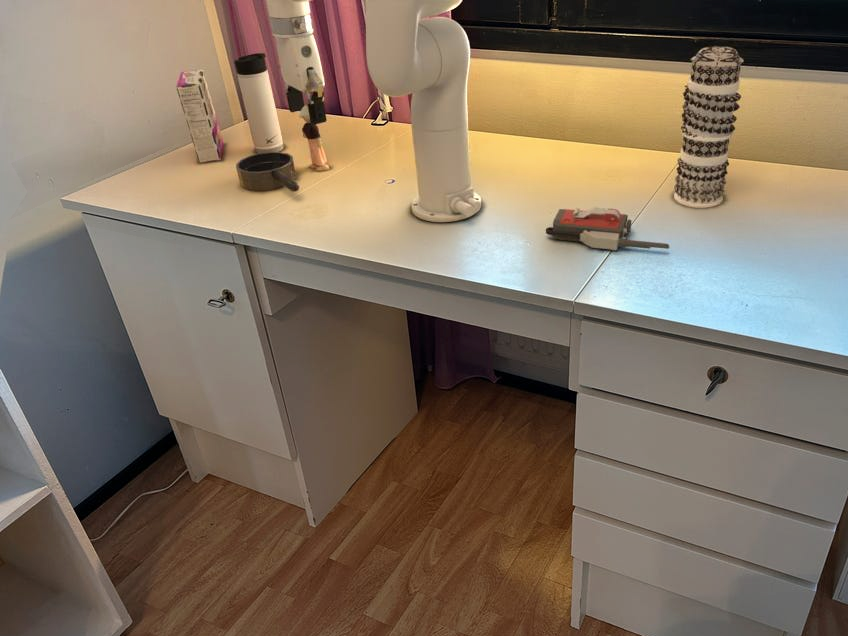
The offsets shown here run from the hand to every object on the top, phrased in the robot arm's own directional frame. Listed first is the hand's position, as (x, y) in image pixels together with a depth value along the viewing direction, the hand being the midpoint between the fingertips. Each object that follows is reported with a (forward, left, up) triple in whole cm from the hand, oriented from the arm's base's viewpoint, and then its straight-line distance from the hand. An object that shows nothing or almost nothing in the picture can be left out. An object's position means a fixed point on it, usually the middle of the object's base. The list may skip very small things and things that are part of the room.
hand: (307, 116), depth 146 cm
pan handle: (-10, +11, -8) cm, 17 cm away
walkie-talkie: (-63, -22, -11) cm, 68 cm away
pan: (0, +11, -10) cm, 15 cm away
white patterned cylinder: (-62, -45, -11) cm, 77 cm away
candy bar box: (+24, +14, -11) cm, 30 cm away
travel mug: (+17, +3, -11) cm, 20 cm away
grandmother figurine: (0, 0, -11) cm, 11 cm away
